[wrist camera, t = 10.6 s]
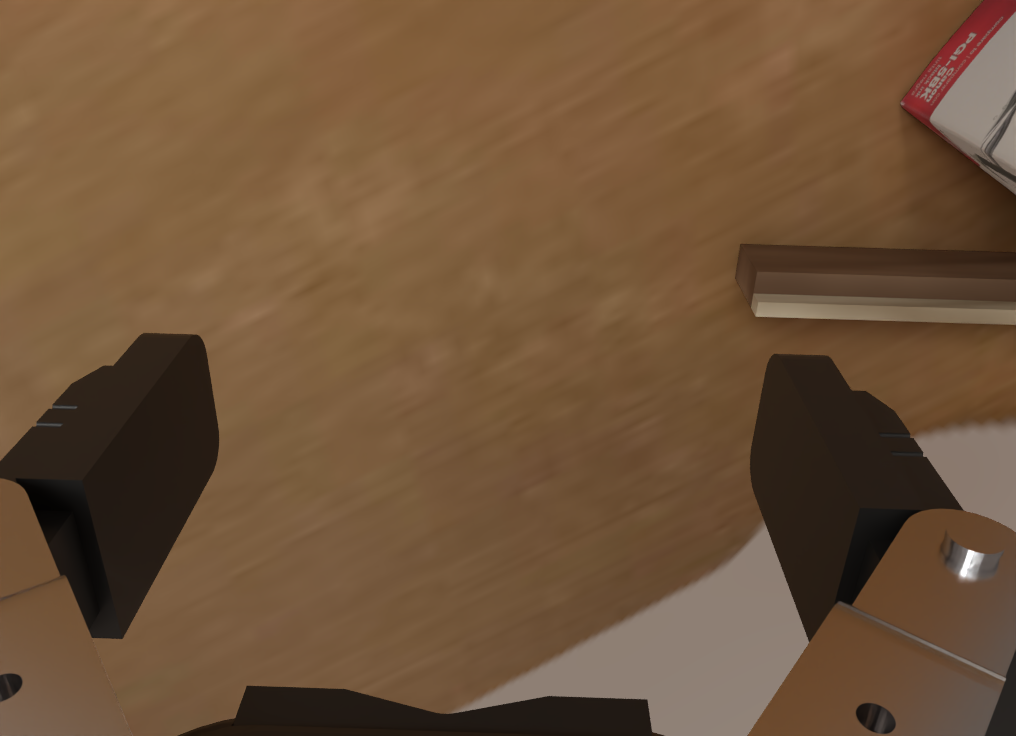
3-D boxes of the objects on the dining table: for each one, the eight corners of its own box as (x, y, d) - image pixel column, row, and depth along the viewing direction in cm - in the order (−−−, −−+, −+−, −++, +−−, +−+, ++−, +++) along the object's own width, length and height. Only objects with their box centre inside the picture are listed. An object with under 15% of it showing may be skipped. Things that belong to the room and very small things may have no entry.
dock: (800, -136, 30) (834, -140, 26) (1279, -124, 30) (1375, -126, 26) (735, 278, 37) (755, 316, 33) (1121, 290, 37) (1180, 330, 33)
